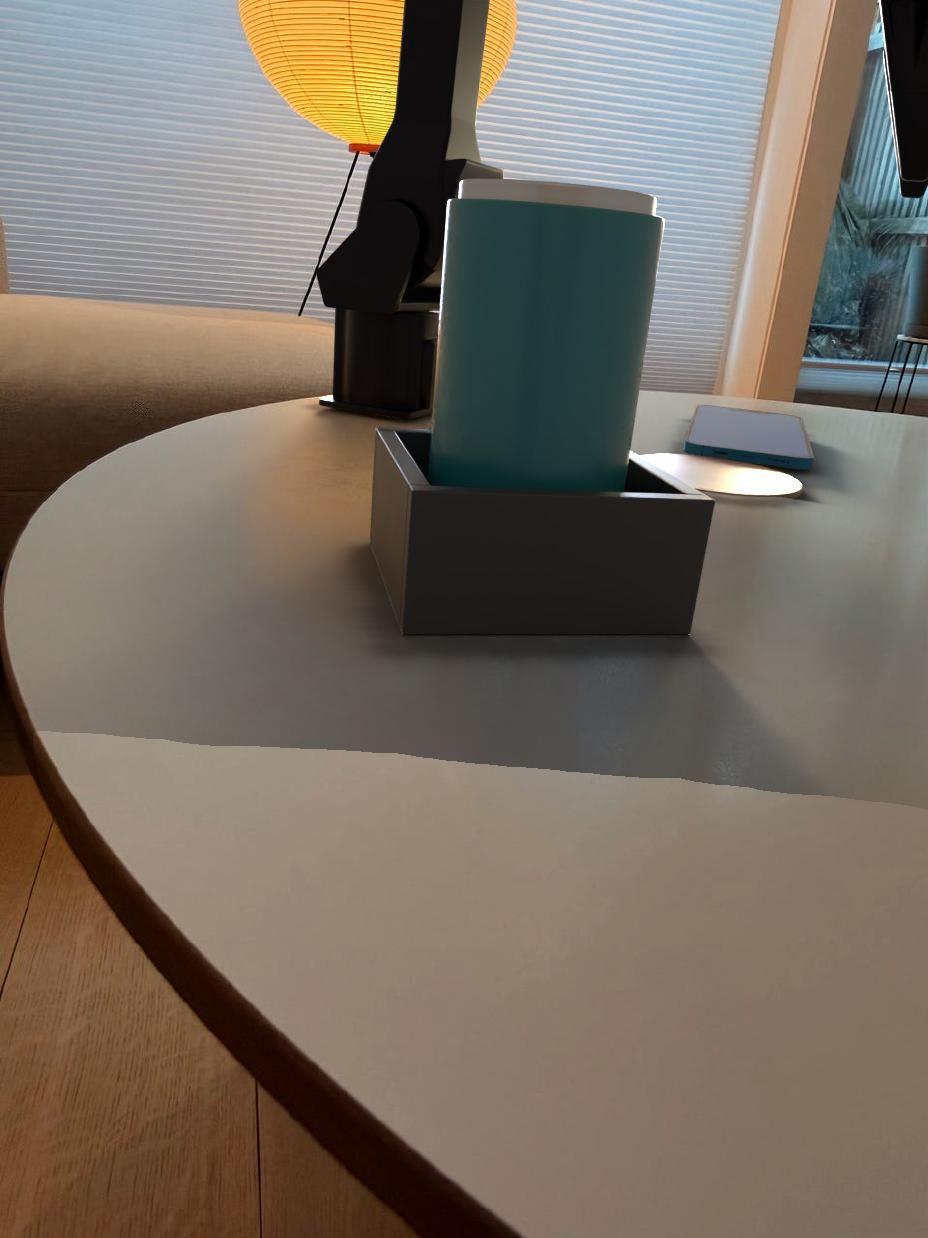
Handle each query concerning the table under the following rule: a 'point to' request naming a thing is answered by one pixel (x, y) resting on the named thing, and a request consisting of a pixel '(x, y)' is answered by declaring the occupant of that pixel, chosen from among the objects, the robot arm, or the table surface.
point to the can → (542, 334)
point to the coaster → (727, 475)
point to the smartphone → (749, 437)
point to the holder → (534, 552)
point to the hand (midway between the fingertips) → (912, 189)
